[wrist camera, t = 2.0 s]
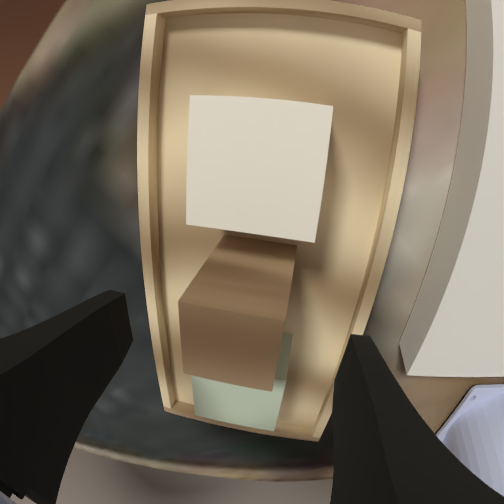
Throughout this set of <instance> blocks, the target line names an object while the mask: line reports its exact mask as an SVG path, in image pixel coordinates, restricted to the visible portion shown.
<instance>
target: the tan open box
mask: <svg viewBox="0 0 504 504" xmlns="http://www.w3.org/2000/svg"><path fill="white" fill-rule="evenodd" d="M420 49H421V20H418V19H415V18H412V17H408V16H404V15H400V14H397V13H393V12H388V11H384V10H380V9H375V8H370V7H365V6H360V5H355V4H349V3H343V2H336V1H329V0H172V1H165V2H158V3H152V4H147V7H146V15H145V23H144V32H143V41H142V52H141V64H140V79H139V97H138V129H137V171H138V204H139V223H140V239H141V252H142V263H143V274H144V284H145V293H146V301H147V309H148V317H149V324H150V331H151V338H152V345H153V351H154V357H155V363H156V369H157V374H158V380H159V385H160V390H161V395H162V400H163V405H164V410H165V411H167V412H170V413H174V414H177V415H181V416H184V417H188V418H192V419H196V420H200V421H204V422H208V423H212V424H216V425H220V426H225V427H230V428H234V429H239V430H244V431H249V432H255V433H260V434H266V435H272V436H279V437H286V438H293V439H301V440H309V441H319V439H320V437H321V435H322V433H323V431H324V429H325V426H326V424H327V422H328V420H329V418H330V416H331V413H332V405H333V392H334V379H335V377H336V374H337V371H338V369H339V366H340V363H341V360H342V357H343V355H344V352H345V349H346V346H347V343H348V340H349V337H350V334H357V335H363V333H364V330H365V327H366V324H367V321H368V318H369V315H370V312H371V309H372V306H373V303H374V300H375V296H376V293H377V290H378V287H379V283H380V280H381V277H382V273H383V270H384V266H385V262H386V259H387V255H388V251H389V247H390V244H391V240H392V236H393V232H394V227H395V223H396V219H397V215H398V210H399V206H400V201H401V196H402V191H403V186H404V181H405V176H406V171H407V165H408V159H409V153H410V147H411V140H412V133H413V126H414V119H415V110H416V101H417V92H418V80H419V67H420ZM190 95H213V96H239V97H256V98H269V99H280V100H290V101H299V102H307V103H315V104H322V105H329V106H333V114H332V123H331V132H330V140H329V148H328V156H327V164H326V171H325V179H324V186H323V193H322V200H321V206H320V213H319V219H318V226H317V232H316V238H315V243H313V242H306V241H299V240H293V239H286V238H279V237H272V236H265V235H258V234H251V233H244V232H237V231H230V230H223V229H216V228H208V227H201V226H193V225H186V180H187V145H188V121H189V103H190ZM283 333H287V334H293V338H292V345H291V352H290V359H289V366H288V373H287V380H286V384H285V389H284V393H283V397H282V401H281V406H280V410H279V414H278V418H277V422H276V426H275V430H274V431H269V430H263V429H257V428H252V427H246V426H241V425H236V424H231V423H227V422H222V421H218V420H213V419H209V418H205V417H201V416H197V415H195V410H194V400H193V389H192V378H191V375H193V376H197V377H201V378H205V379H209V380H214V381H218V382H223V383H228V384H233V385H238V386H243V387H248V388H253V389H259V390H264V391H270V392H272V390H273V385H274V380H275V375H276V369H277V364H278V359H279V353H280V348H281V342H282V337H283Z"/></svg>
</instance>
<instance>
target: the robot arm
mask: <svg viewBox="0 0 504 504" xmlns="http://www.w3.org/2000/svg"><path fill="white" fill-rule="evenodd" d="M132 341H133V337H132V332H131V327H130V321H129V316H128V310H127V304H126V298H125V293H121V292H117V291H113V290H108V291H106V292H103V293H101V294H99V295H97V296H94V297H92V298H90V299H88V300H86V301H84V302H82V303H80V304H78V305H76V306H74V307H72V308H70V309H68V310H66V311H64V312H62V313H60V314H59V315H56V316H54V317H52V318H50V319H48V320H46V321H44V322H41V323H39V324H37V325H35V326H33V327H31V328H28V329H26V330H23V331H21V332H18V333H16V334H13V335H10V336H7V337H4V338H1V339H0V504H16V503H15V502H14V501H12V500H11V499H10V497H11V495H12V493H13V494H14V495H16V496H17V497H18V498H20V499H23V498H24V496H26V497H28V498H29V499H31V500H32V501H33V502H35V503H37V504H56V500H57V496H58V491H59V488H60V484H61V480H62V477H63V474H64V471H65V468H66V465H67V462H68V459H69V457H70V454H71V452H72V449H73V447H74V444H75V442H76V439H77V437H78V435H79V433H80V431H81V429H82V426H83V424H84V422H85V420H86V418H87V417H88V415H89V413H90V411H91V410H92V408H93V407H94V405H95V404H96V402H97V401H98V399H99V397H100V396H101V394H102V393H103V391H104V390H105V388H106V387H107V385H108V384H109V382H110V381H111V379H112V378H113V376H114V375H115V373H116V372H117V370H118V369H119V367H120V366H121V364H122V362H123V360H124V358H125V356H126V354H127V352H128V350H129V348H130V346H131V343H132ZM332 416H333V452H334V473H333V487H332V494H331V502H330V504H504V384H493V385H475V386H473V387H472V388H471V389H470V390H469V392H468V393H467V394H466V396H465V397H464V399H463V400H462V401H461V403H460V404H459V405H458V407H457V408H456V410H455V411H454V412H453V413H452V415H451V416H450V417H449V419H448V420H447V421H446V422H445V424H444V425H443V426H442V427H441V429H440V430H439V431H438V432H437V434H436V435H435V434H434V432H433V431H432V430H431V429H430V428H429V426H428V425H427V424H426V423H425V421H424V420H423V419H422V417H421V416H420V415H419V413H418V412H417V411H416V409H415V408H414V406H413V405H412V404H411V402H410V401H409V399H408V398H407V396H406V395H405V393H404V392H403V390H402V388H401V387H400V385H399V384H398V382H397V381H396V379H395V377H394V376H393V374H392V372H391V371H390V369H389V367H388V366H387V364H386V362H385V361H384V359H383V357H382V356H381V354H380V352H379V350H378V349H377V347H376V345H375V344H374V342H373V340H372V339H371V337H370V336H365V335H357V334H350V337H349V340H348V343H347V346H346V349H345V352H344V355H343V357H342V360H341V363H340V366H339V369H338V371H337V374H336V377H335V379H334V392H333V405H332Z"/></svg>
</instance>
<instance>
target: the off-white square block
mask: <svg viewBox="0 0 504 504" xmlns="http://www.w3.org/2000/svg"><path fill="white" fill-rule="evenodd" d="M332 114H333V106H329V105H322V104H315V103H307V102H299V101H290V100H280V99H269V98H256V97H239V96H213V95H190V103H189V121H188V145H187V180H186V225H193V226H201V227H208V228H216V229H223V230H230V231H237V232H244V233H251V234H258V235H265V236H272V237H279V238H286V239H293V240H299V241H306V242H313V243H315V238H316V232H317V226H318V219H319V213H320V206H321V200H322V193H323V186H324V179H325V171H326V164H327V156H328V148H329V140H330V132H331V123H332Z"/></svg>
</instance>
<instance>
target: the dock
mask: <svg viewBox="0 0 504 504" xmlns="http://www.w3.org/2000/svg"><path fill="white" fill-rule="evenodd" d="M466 22H467V52H466V76H465V90H464V101H463V110H462V119H461V126H460V134H459V140H458V147H457V152H456V158H455V164H454V169H453V174H452V179H451V184H450V188H449V193H448V197H447V201H446V205H445V209H444V213H443V217H442V221H441V225H440V228H439V232H438V236H437V239H436V243H435V246H434V249H433V253H432V256H431V259H430V262H429V265H428V268H427V271H426V274H425V277H424V280H423V283H422V286H421V289H420V291H419V294H418V297H417V300H416V302H415V305H414V307H413V310H412V313H411V315H410V318H409V320H408V323H407V325H406V327H405V330H404V332H403V335H402V337H401V339H400V342H399V345H400V349H401V353H402V357H403V361H404V365H405V370H406V374H407V375H414V376H437V377H503V376H504V0H466Z"/></svg>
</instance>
